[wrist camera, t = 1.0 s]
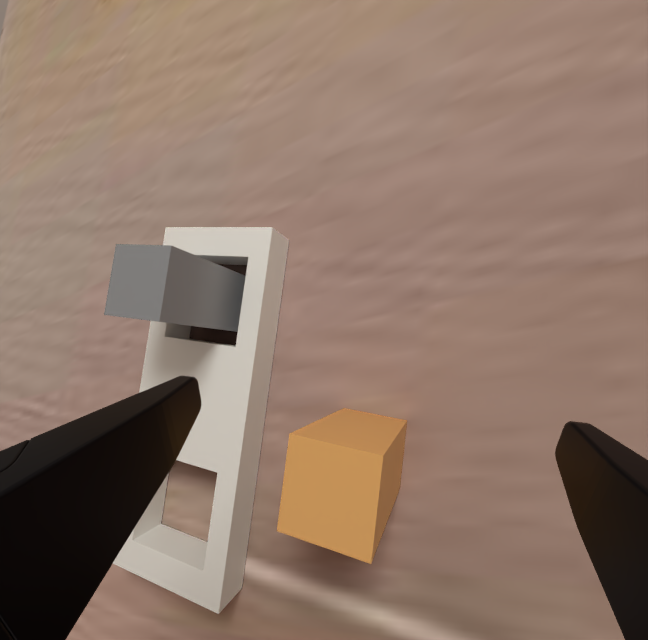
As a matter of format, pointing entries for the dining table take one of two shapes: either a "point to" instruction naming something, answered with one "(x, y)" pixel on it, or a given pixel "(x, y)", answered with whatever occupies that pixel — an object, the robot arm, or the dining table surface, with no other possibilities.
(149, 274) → the gray plug
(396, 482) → the orange plug
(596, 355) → the dining table surface
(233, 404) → the white slotted frame
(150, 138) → the dining table surface
